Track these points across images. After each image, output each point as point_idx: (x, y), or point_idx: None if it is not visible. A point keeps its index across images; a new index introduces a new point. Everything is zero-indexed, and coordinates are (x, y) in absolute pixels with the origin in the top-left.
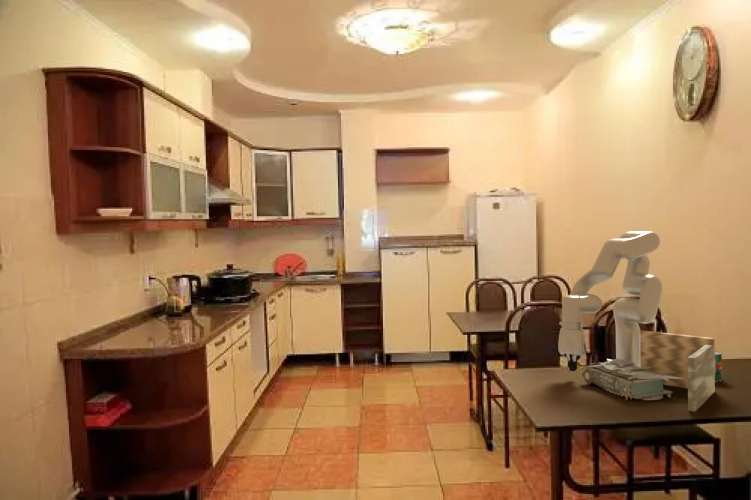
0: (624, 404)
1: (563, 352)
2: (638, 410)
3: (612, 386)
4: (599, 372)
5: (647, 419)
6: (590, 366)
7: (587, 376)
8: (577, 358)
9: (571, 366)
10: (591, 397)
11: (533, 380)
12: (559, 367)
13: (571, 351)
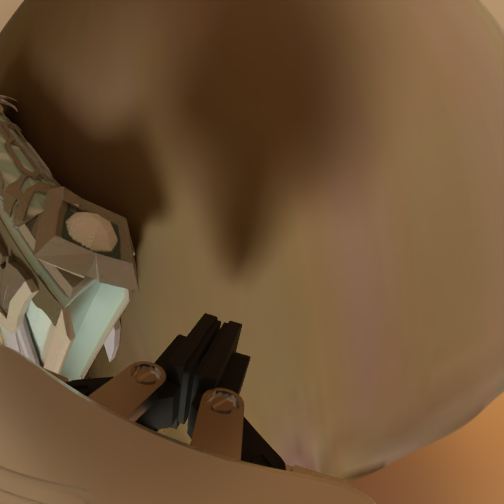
0: (25, 57)
1: (274, 474)
2: (12, 44)
3: (10, 130)
4: (4, 199)
5: (16, 10)
6: (57, 323)
7: (87, 212)
8: (101, 386)
9: (212, 347)
10: (101, 33)
11: (478, 187)
12: (345, 476)
13: (72, 438)
